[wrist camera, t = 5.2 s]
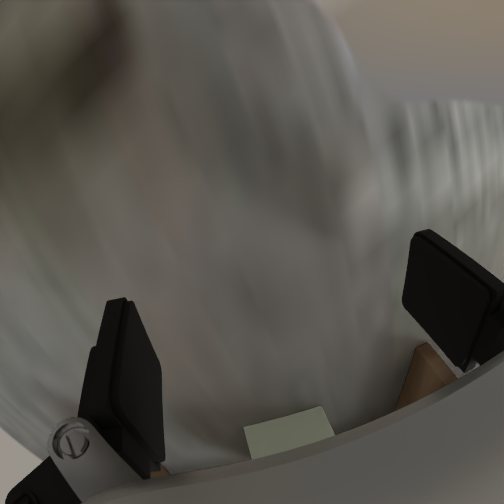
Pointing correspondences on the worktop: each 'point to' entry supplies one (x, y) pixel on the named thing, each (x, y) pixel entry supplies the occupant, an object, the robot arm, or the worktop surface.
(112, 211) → the worktop surface
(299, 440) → the sage block
